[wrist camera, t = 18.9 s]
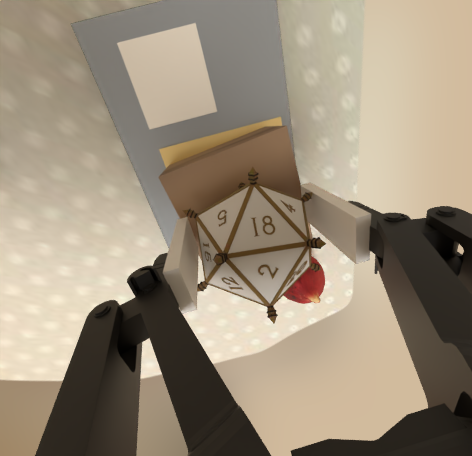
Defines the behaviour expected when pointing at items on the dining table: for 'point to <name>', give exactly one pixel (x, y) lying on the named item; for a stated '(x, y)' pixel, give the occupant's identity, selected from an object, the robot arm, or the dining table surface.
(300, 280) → the red oval piece
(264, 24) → the board
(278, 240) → the game die
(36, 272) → the dining table surface
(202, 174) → the walnut slab
